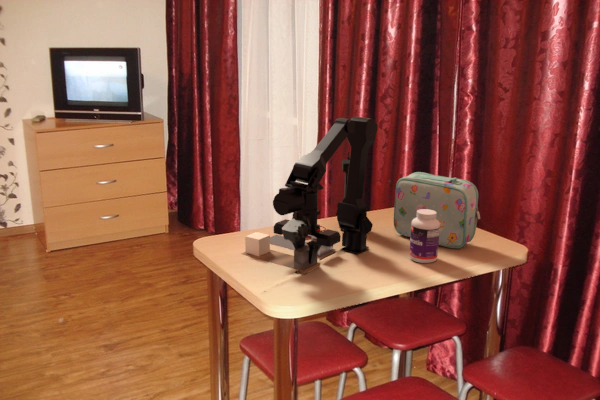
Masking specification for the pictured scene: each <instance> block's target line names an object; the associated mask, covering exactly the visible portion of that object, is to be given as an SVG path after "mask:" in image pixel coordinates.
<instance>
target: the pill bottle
mask: <svg viewBox="0 0 600 400" xmlns="http://www.w3.org/2000/svg"><path fill="white" fill-rule="evenodd" d="M436 215H437V212H436V211H434V210H429V209H420V210H417V217H416V218H414V219H413V220H412V223H411V236H410V237H409V238H410V239H409V250H408V251H409V252H408V253H409V254H408V257H409V258H410V259H411V260H412V261H414V262H416V263H420V264H430V263H433V262H435V261H437V259H438V255H439V245H438V243H439V231H440V223H439V221H438V220H437V219H435V218H436Z"/></svg>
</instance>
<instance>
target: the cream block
mask: <svg viewBox="0 0 600 400" xmlns="http://www.w3.org/2000/svg"><path fill="white" fill-rule="evenodd" d="M270 237H271V235H270V234H265V233H262V232H258V231H255V232H253V233H250V234H248V235H245V237H244V238H245V239H244V240H245V241H244V242H245V243H244V245H245V248H244V249H245V250H244V252H245V253H248V254H252V255H256V256H261V255H263V254H266V253H268V252H270V250H271V244H270Z"/></svg>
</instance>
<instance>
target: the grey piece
mask: <svg viewBox="0 0 600 400" xmlns="http://www.w3.org/2000/svg"><path fill="white" fill-rule="evenodd" d="M307 242H308V241H305V245H307ZM270 245H273V246H276V247H280V248H284V249H288V250H291V251H294V250H295V248H294V245H293V243H292V242H291V241H290V240H288V239H287V240H286V239H284V236H283V235H279V234H274V235H272V236H270ZM335 250H336V249H335V248H334V245H332V246H329V247H327V246H323V245H322V246H321V247H320V249H319V251H318V256H317V258H320V259H319V261H321V260H324V259H325V258H328V257H329V256H331V255H333V254H335V253H336V251H335ZM331 252H332V253H331ZM327 254H328V255H327ZM325 255H326V256H325Z"/></svg>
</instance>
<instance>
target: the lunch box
mask: <svg viewBox="0 0 600 400" xmlns="http://www.w3.org/2000/svg"><path fill="white" fill-rule="evenodd" d="M478 204H479V191H478V188H477V186H476V184H474V183H473V182H471V181H469V180H467V179H463V178H457V177H450V176H449V177H447V176H443V175H436V174H431V173H427V172H423V171H422V172H421V171H416V172H412V173H410V174H409V175H406V176H404V177H401V178H399V179H398V180H397V181H396V185H395V195H394V205H393V206H394V207H393V208H394V209H393V227H394V229H395V231H396V232H397V233H398V234H399V235H401V236H405V237H409V238H410V236H411V223H412V220H413V219H414V218H416V217H417V210H420V209H429V210H434V211H436V212H437V215H436V218H435V219H437V220H438V221H439V223H440V231H439V243H438V246H441V247H445V248H451V249H461V248H462V247H464V246H465V245H466V244H467V243H470V242H471V241H472V240H473V238H474V237H475V234H476V230H477V223H478V220H481V215H480V211H479V207H478Z"/></svg>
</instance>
